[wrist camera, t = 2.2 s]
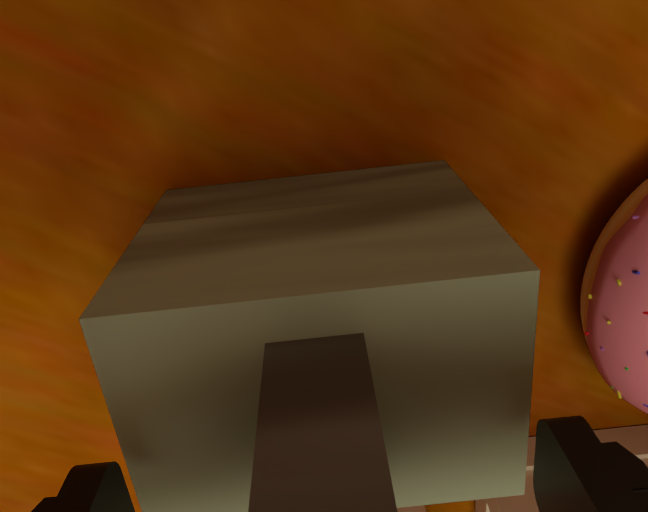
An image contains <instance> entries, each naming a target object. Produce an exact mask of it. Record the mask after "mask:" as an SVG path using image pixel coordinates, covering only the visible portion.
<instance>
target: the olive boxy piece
mask: <svg viewBox="0 0 648 512" xmlns="http://www.w3.org/2000/svg"><path fill="white" fill-rule="evenodd" d="M539 276H540V270H539V269H538V267H537V266H536V265H535V264H534V263H533V262H532V261H531V259H530V258H529V257H528V256H527V255H526V254H525V252H524V251H523V250H522V249H521V248H520V247H519V246H518V244H517V243H516V242H515V241H514V240H513V239H512V238H511V236H510V235H509V234H508V233H507V232H506V231H505V229H504V228H503V227H502V226H501V225H500V224H499V223H498V221H497V220H496V219H495V218H494V217H493V216H492V215H491V213H490V212H489V211H488V210H487V209H486V208H485V206H484V205H483V204H482V203H481V202H480V201H479V200H478V198H477V197H476V196H475V195H474V194H473V193H472V192H471V190H470V189H469V188H468V187H467V186H466V185H465V184H464V182H463V181H462V180H461V179H460V178H459V177H458V175H457V174H456V173H455V172H454V171H453V170H452V169H451V167H450V166H449V165H448V164H447V163H446V162H445V161H444V160H442V161H433V162H424V163H414V164H405V165H396V166H386V167H377V168H368V169H358V170H349V171H340V172H330V173H321V174H312V175H303V176H293V177H284V178H275V179H265V180H256V181H247V182H237V183H228V184H219V185H209V186H200V187H191V188H182V189H172V190H166V191H165V193H164V194H163V196H162V197H161V199H160V200H159V202H158V203H157V205H156V206H155V208H154V209H153V210H152V212H151V213H150V215H149V216H148V218H147V219H146V221H145V222H144V224H143V225H142V227H141V228H140V230H139V231H138V233H137V234H136V236H135V237H134V238H133V240H132V241H131V243H130V244H129V246H128V247H127V249H126V250H125V252H124V253H123V255H122V256H121V258H120V259H119V261H118V262H117V264H116V265H115V266H114V268H113V269H112V271H111V272H110V274H109V275H108V277H107V278H106V280H105V281H104V283H103V284H102V286H101V287H100V289H99V290H98V292H97V293H96V294H95V296H94V297H93V299H92V300H91V302H90V303H89V305H88V306H87V308H86V309H85V311H84V312H83V314H82V315H81V317H80V318H79V321H80V324H81V327H82V330H83V333H84V337H85V340H86V343H87V346H88V349H89V352H90V355H91V358H92V361H93V364H94V367H95V370H96V373H97V376H98V379H99V382H100V385H101V388H102V391H103V394H104V397H105V401H106V404H107V407H108V410H109V413H110V416H111V419H112V422H113V425H114V428H115V431H116V434H117V437H118V440H119V443H120V446H121V449H122V452H123V455H124V458H125V461H126V465H127V468H128V471H129V474H130V477H131V480H132V483H133V486H134V489H135V492H136V495H137V498H138V501H139V504H140V507H141V510H142V512H397V508H402V507H411V506H421V505H430V504H440V503H450V502H459V501H469V500H479V499H488V498H498V497H508V496H517V495H524V493H525V479H526V464H527V450H528V435H529V421H530V406H531V392H532V377H533V363H534V348H535V334H536V319H537V305H538V290H539Z"/></svg>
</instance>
